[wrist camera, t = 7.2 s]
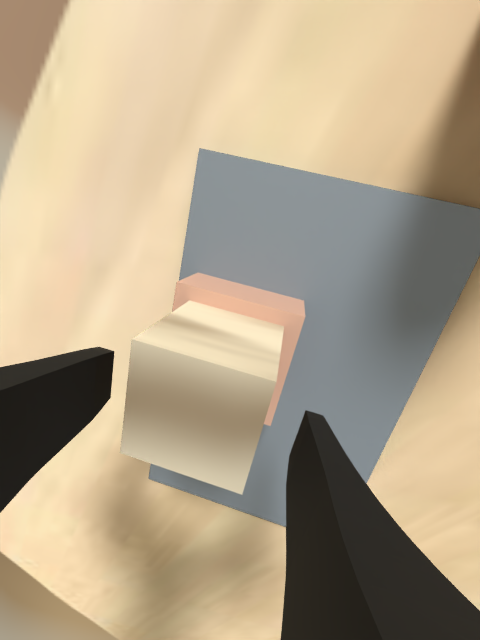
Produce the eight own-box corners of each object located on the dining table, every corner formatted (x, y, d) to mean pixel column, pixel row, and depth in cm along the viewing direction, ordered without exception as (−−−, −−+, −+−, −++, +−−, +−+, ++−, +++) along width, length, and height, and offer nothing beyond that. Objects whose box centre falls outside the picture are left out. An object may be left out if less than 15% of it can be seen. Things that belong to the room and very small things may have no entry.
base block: (274, 394, 18) (270, 426, 15) (181, 365, 18) (160, 391, 15) (304, 300, 16) (305, 316, 13) (197, 272, 16) (176, 281, 13)
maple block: (260, 408, 15) (242, 494, 10) (175, 382, 15) (120, 453, 10) (284, 326, 13) (276, 381, 8) (189, 300, 13) (131, 339, 9)
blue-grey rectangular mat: (335, 537, 21) (335, 544, 20) (151, 473, 22) (148, 478, 22) (493, 213, 13) (500, 213, 13) (202, 150, 15) (199, 148, 14)
